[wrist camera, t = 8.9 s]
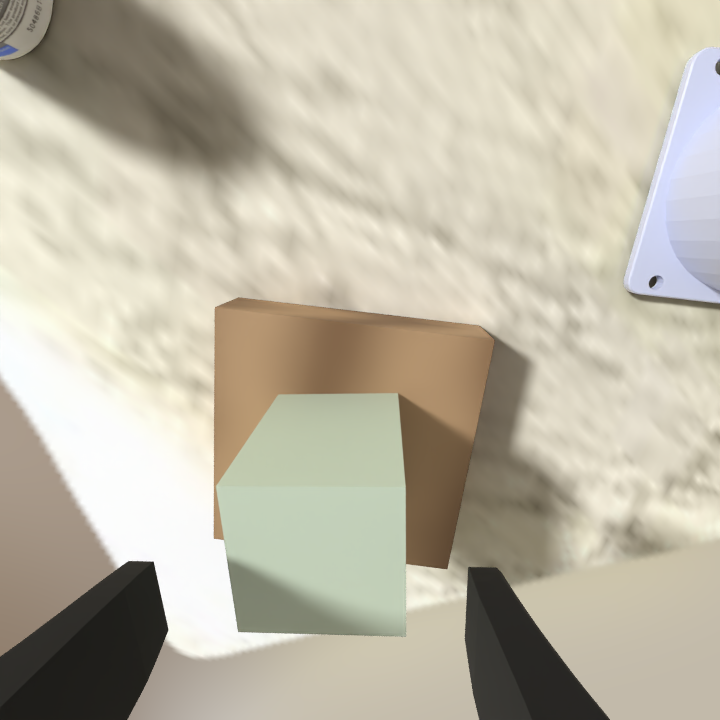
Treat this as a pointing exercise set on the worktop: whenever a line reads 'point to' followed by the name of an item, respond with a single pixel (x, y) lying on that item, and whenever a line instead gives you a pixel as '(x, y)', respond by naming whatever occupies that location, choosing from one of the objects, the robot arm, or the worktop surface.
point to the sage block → (319, 518)
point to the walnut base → (359, 376)
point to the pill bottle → (22, 26)
